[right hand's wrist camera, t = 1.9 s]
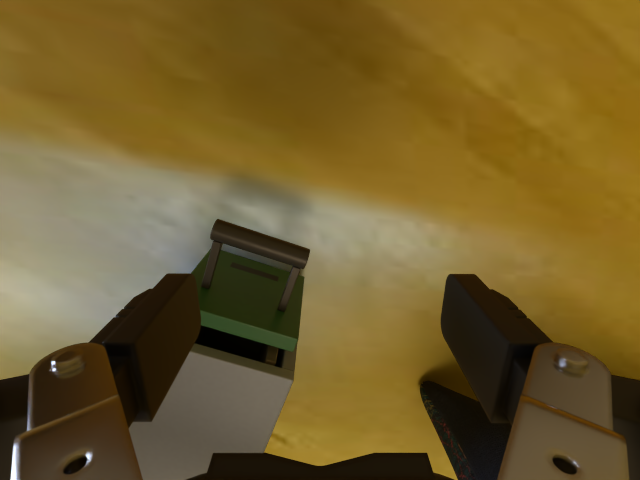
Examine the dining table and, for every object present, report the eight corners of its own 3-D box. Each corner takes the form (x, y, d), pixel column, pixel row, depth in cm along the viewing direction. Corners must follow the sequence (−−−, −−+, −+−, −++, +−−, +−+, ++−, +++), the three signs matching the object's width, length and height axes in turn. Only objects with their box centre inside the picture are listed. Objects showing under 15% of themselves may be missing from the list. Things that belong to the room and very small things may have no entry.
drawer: (226, 192, 31) (185, 227, 21) (323, 226, 32) (325, 273, 23) (177, 375, 38) (130, 461, 28) (258, 397, 39) (239, 487, 30)
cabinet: (202, 265, 34) (145, 339, 23) (302, 296, 36) (293, 380, 24) (168, 393, 40) (109, 503, 29) (255, 416, 41) (231, 530, 30)
